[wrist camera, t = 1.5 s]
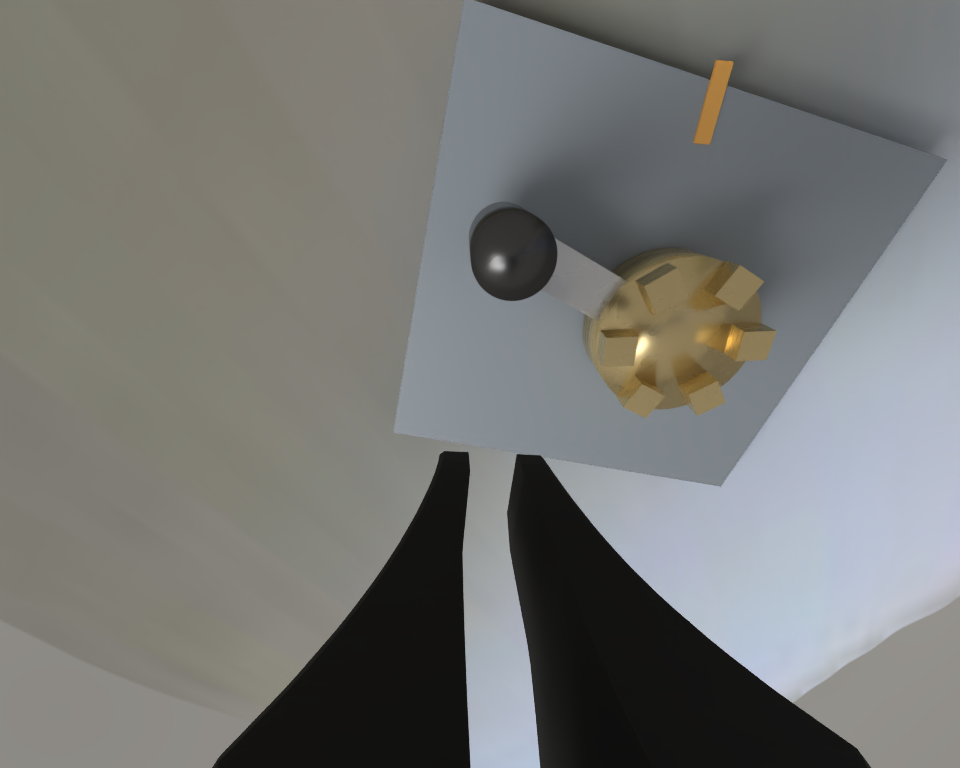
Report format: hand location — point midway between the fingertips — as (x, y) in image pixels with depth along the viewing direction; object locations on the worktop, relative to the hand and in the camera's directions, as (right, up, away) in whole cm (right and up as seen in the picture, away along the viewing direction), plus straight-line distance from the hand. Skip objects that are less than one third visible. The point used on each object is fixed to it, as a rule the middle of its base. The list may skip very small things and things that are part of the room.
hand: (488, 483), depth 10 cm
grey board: (+6, +6, +9) cm, 13 cm away
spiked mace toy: (+5, +7, +6) cm, 10 cm away
